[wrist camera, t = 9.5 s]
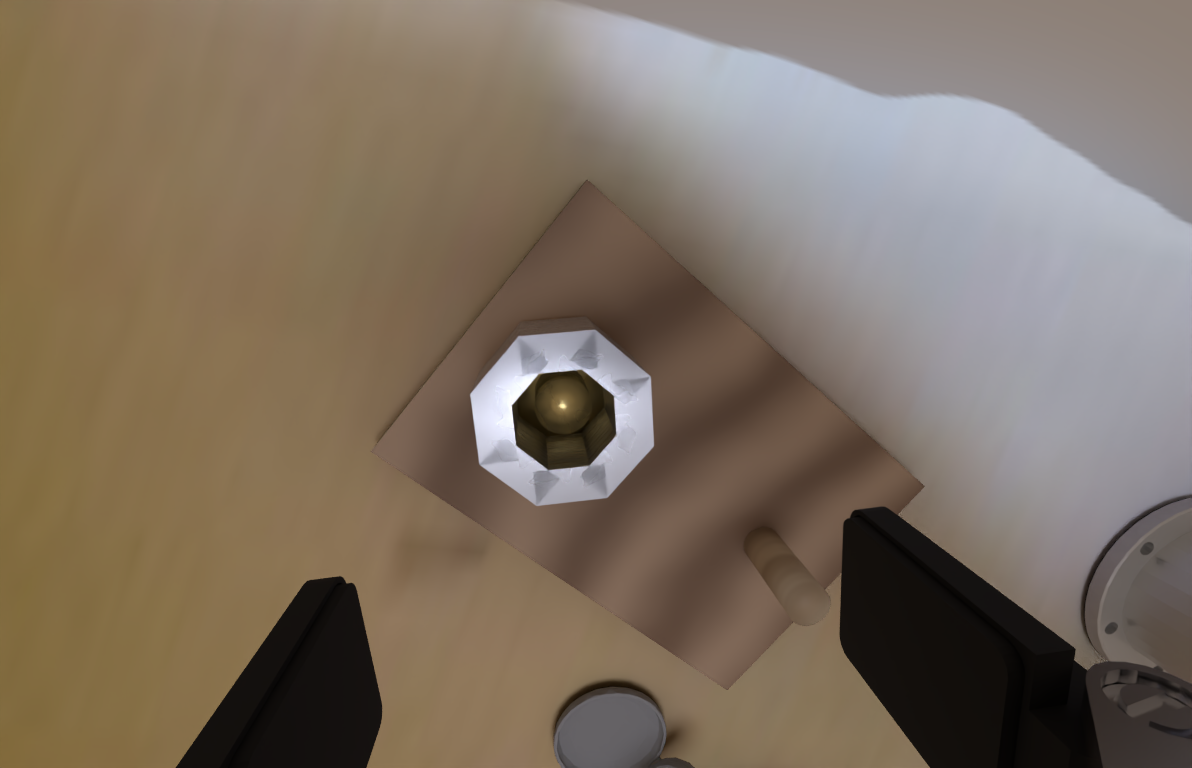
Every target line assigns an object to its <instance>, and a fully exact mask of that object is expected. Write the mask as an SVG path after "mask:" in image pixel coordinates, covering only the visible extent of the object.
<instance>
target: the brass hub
mask: <svg viewBox="0 0 1192 768" xmlns="http://www.w3.org/2000/svg"><path fill="white" fill-rule="evenodd" d="M552 319H560V318H552ZM546 320H548V319H546ZM517 405H518V414H519V416H520V417H521V418H523V419H524V420H525V421H527V422H528V423H529V424H530V425H532V426H533V427H534V428H536V429H537V430H538V431H540V432H541V433H542V434H544V435H545V436H546V437H547V436H557V435H567V434H576V433H582V432H583V430H584V429H585V428H586V427H587V426H588V425H589V424H590V422H591V421H592V420H593V419H594V418H595V417H596V416H597V414H598V413H599V412H600V411H601V410H602V409H603V408H604V399H603V386H601V385H600V384H599V383H598V382H597V381H595V380H594V379H593V378H592V377H591V376H589V375H588V374H587V373H586V372H584V371H583V370H572V371H561V372H551V373H540V374H538V375H537V376H536V378H535V379H534V380H533V381H532V382H531V384H530V385H529V386H528V387H527V388H526V389H525V391H524V392H523V393H522V394H521V395H520V396H519V398H518V399H517Z"/></svg>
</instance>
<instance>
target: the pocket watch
mask: <svg viewBox="0 0 1192 768" xmlns="http://www.w3.org/2000/svg"><path fill="white" fill-rule="evenodd" d="M665 742H666V726H665V722H664V719H663V716H662V713H661V711H660V709H659V708H658V706H657V705H656V703H655V702H654V701H653V700H652V699H650V698H649V697H648V696H646V695H645V694H643V693H641V692H639V691H636V690H633V689H630V688H625V687H607V688H601V689H596V690H594V691H591V692H589V693H586V694H584V695H582V696H581V697H579V698H578V699H576V700H575V701H574V702H572V703H571V704H570V705H569V706H568V707H567V708H566V710H565V711H564V712H563V713H562V715H561V717H560V718H559V720H558V722H557V724H556V729H555V733H554V751H555V756H556V758H557V761H558V763H559V764H560V766H561V767H562V768H694V767H693V766H692V765H691V764H690V763H689V762H686V761H683V760H681V759H678V758H665V759H662V760H661V758H660V757H659V756H660V755H661V752H662V750H663V747H664V745H665Z"/></svg>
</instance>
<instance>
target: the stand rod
mask: <svg viewBox="0 0 1192 768" xmlns="http://www.w3.org/2000/svg"><path fill="white" fill-rule="evenodd" d="M744 551H745V553H746V555H747V556H748V558H749V559H750V560H751V562H752V563H753V565H754V566H755V568H756V569H757V571H758V572H759V574H760V575H761V576H762V578H763V579H764V581H765V582H766V584H767V585H768V587H769V588H770V590H771V591H772V592H773V594H774V595H775V597H776V598H777V600H778V601H779V603H780V604H781V606H782V607H783V608H784V610H785V611H786V613H787V614H788V616H789V617H790V619H791V620H792V621H793V622H794V623H796V624H798V625H802V626H809V625H813V624H816V623H818V622H819V621H821V620H822V619H823V618H824V617H825V616H826V615H827V613H828V612H829V609H830V606H831V600H830V596H829V595H828V593H827V592H826V591H825V589H824V588H823V587H822V586H821V585H820V584H819V582H818V581H817V580H816V579H815V578H814V576H813V575H812V574H811V573H810V572H809V571H808V569H807V568H806V567H805V566H804V565H803V563H802V562H801V561H800V560H799V559H798V557H797V556H796V555H795V554H794V553H793V552H792V550H791V549H790V548H789V547H788V546H787V544H786V543H785V542H784V541H783V540H782V539H781V537H780V536H779V535H778V534H777V533H776V531H774V530H773V529H771V528H768V527H760V528H757V529H754V530H753V531H751V532H750V533H749V534H748V535H747V537H746V539H745V541H744Z"/></svg>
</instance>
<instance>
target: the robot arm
mask: <svg viewBox="0 0 1192 768" xmlns="http://www.w3.org/2000/svg"><path fill="white" fill-rule="evenodd" d="M1085 623H1086V628H1087V634H1088V636H1089V638H1090V640H1091V643H1092V645H1093V647H1094V648H1095V649H1096V650H1097V651H1098V653H1099V654H1100V655H1101V656H1102V657H1103V658H1104V659H1106V660H1107V662H1103V663H1099V664H1094V665H1093V666H1092V667H1091V668H1090V669H1089V670H1088V671H1087V670H1086V669H1085V668H1083V667H1082V666H1081V665H1079V664H1078V663H1077V662H1075V661H1074V656H1075V650H1076V649H1075V648H1074V647H1072V646H1071V645H1070V644H1068V643H1067V642H1066V641H1064V640H1063V639H1062V638H1060V637H1059V636H1058V635H1056V634H1055V633H1054V632H1052V631H1051V630H1050V629H1048V628H1047V627H1046V626H1044V625H1043V624H1042V623H1041V622H1039V621H1038V620H1037V619H1035V618H1034V617H1033V616H1031V615H1030V614H1029V613H1027V612H1026V611H1025V610H1023V609H1022V608H1021V607H1019V606H1018V605H1017V604H1015V603H1014V602H1013V601H1011V600H1010V599H1009V598H1007V597H1006V596H1005V595H1003V594H1002V593H1001V592H999V591H998V590H997V589H995V588H994V587H993V586H991V585H990V584H989V583H987V582H986V581H985V580H983V579H982V578H981V577H979V576H978V575H977V574H975V573H974V572H973V571H971V570H970V569H969V568H967V567H966V566H965V565H963V564H962V563H961V562H959V561H958V560H957V559H955V558H954V557H953V556H951V555H950V554H949V553H947V552H946V551H945V550H943V549H942V548H941V547H939V546H938V545H937V544H935V543H934V542H933V541H931V540H930V539H929V538H927V537H926V536H925V535H923V534H922V533H921V532H919V531H918V530H917V529H915V528H914V527H913V526H911V525H910V524H909V523H907V522H906V521H905V520H903V519H902V518H901V517H899V516H898V515H897V514H895V513H894V512H893V511H891V510H890V509H889V508H887V507H885V506H881V507H873V508H865V509H858V510H854V511H853V512H852V514H851V516H850V518H847V519H846V520H845V521H844V524H843V544H842V576H841V608H840V641H841V645H842V648H843V650H844V653H845V654H846V656H847V658H848V659H849V660H850V662H851V663H852V664H853V666H854V667H855V668H856V670H857V671H858V672H859V674H860V675H861V676H862V678H863V679H864V680H865V682H866V683H867V684H868V686H869V687H870V688H871V690H872V691H873V692H874V694H875V695H876V696H877V698H878V699H879V700H880V702H881V703H882V704H883V706H884V707H885V708H886V710H887V711H888V712H889V714H890V715H891V716H892V718H893V719H894V720H895V722H896V723H897V724H898V726H899V727H900V728H901V730H902V731H903V732H904V734H905V735H906V736H907V738H908V739H909V740H910V742H911V743H912V744H913V746H914V747H915V748H916V750H917V751H918V752H919V754H920V755H921V756H922V758H923V759H924V760H925V762H926V763H927V764H928V766H929V767H930V768H1192V498H1187V499H1184V500H1181V501H1177V502H1174V503H1171V504H1168V505H1166V506H1164V507H1162V508H1160V509H1158V510H1156V511H1154V512H1152V513H1150V514H1149V515H1147V516H1146V517H1144V518H1143V519H1141V520H1140V521H1138V522H1137V523H1135V524H1134V525H1133V526H1132V527H1131V528H1130V529H1129V530H1127V531H1126V532H1125V533H1124V534H1123V535H1122V536H1121V537H1120V538H1119V539H1118V540H1117V541H1116V542H1115V544H1114V545H1113V546H1112V547H1111V548H1110V549H1109V551H1108V552H1107V553H1106V555H1105V556H1104V558H1103V560H1102V561H1101V563H1100V564H1099V566H1098V568H1097V569H1096V571H1095V574H1094V576H1093V578H1092V581H1091V583H1090V585H1089V589H1088V594H1087V598H1086V602H1085ZM381 719H382V703H381V697H380V693H379V688H378V684H377V679H376V675H375V670H374V666H373V661H372V657H371V652H370V648H369V643H368V639H367V634H366V630H365V625H364V621H363V616H362V612H361V607H360V603H359V598H358V594H357V590H356V587H355V585H354V584H353V583H348V584H346V582H345V580H344V578H343V577H341V576H339V577H331V578H323V579H315V580H309V581H307V582H306V583H305V584H304V585H303V586H302V588H301V589H300V591H299V592H298V593H297V595H296V596H295V598H294V599H293V601H292V602H291V603H290V605H289V606H288V608H287V609H286V611H285V612H284V613H283V615H282V616H281V618H280V619H279V621H278V622H277V623H276V625H275V626H274V628H273V629H272V631H271V632H270V633H269V635H268V636H267V638H266V639H265V641H264V642H263V644H262V645H261V646H260V648H259V649H258V651H257V652H256V654H255V655H254V656H253V658H252V659H251V661H250V662H249V664H248V665H247V666H246V668H245V669H244V671H243V672H242V674H241V675H240V676H239V678H238V679H237V681H236V682H235V684H234V685H233V686H232V688H231V689H230V691H229V692H228V694H227V695H226V696H225V698H224V699H223V701H222V702H221V704H220V705H219V707H218V708H217V709H216V711H215V712H214V714H213V715H212V717H211V718H210V719H209V721H208V722H207V724H206V725H205V727H204V728H203V729H202V731H201V732H200V734H199V735H198V737H197V738H196V739H195V741H194V742H193V744H192V745H191V747H190V748H189V749H188V751H187V752H186V754H185V755H184V757H183V758H182V759H181V761H180V762H179V764H178V765H177V767H176V768H366V767H367V764H368V761H369V758H370V755H371V752H372V749H373V746H374V743H375V740H376V737H377V734H378V731H379V728H380V724H381Z"/></svg>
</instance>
